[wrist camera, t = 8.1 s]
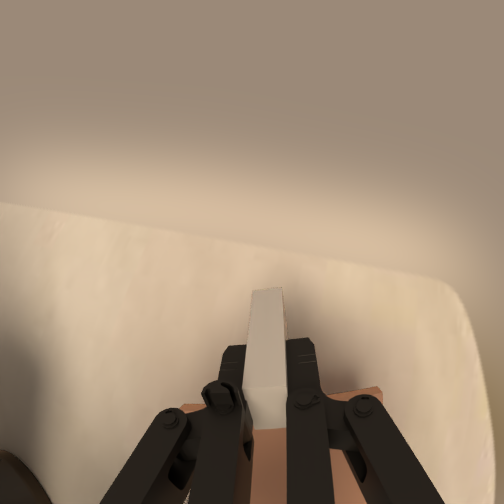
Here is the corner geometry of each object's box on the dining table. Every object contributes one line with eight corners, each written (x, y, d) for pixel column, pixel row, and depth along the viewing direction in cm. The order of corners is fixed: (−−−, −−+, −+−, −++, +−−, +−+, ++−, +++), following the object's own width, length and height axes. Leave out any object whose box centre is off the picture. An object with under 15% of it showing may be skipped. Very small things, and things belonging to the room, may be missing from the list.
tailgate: (376, 512, 13) (382, 392, 15) (206, 523, 15) (177, 410, 16) (371, 499, 15) (375, 383, 16) (211, 510, 16) (186, 401, 18)
